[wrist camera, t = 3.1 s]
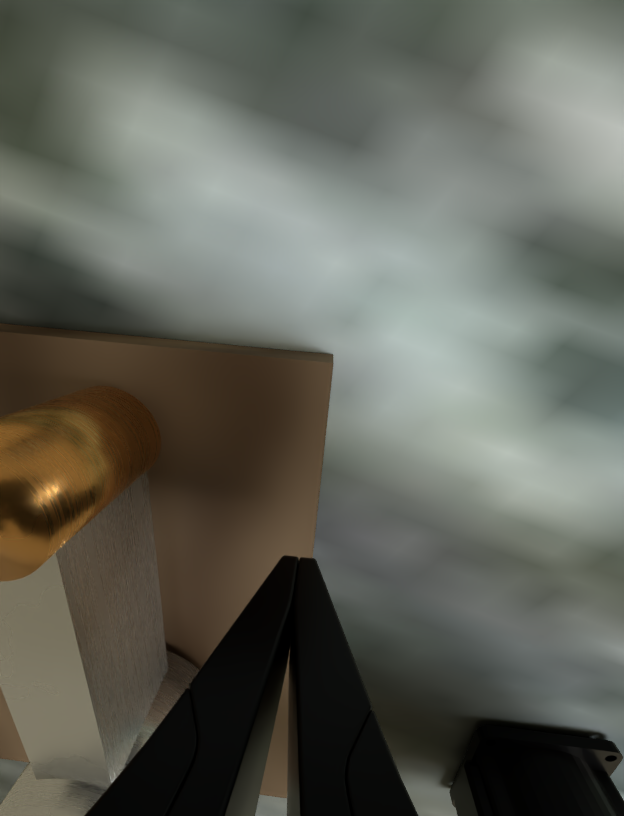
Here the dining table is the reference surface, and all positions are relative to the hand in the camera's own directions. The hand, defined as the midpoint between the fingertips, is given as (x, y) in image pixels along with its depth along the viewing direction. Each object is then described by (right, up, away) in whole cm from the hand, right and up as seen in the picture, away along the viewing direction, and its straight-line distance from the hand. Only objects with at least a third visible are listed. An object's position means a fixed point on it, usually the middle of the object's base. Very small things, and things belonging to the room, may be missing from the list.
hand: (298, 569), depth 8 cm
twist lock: (-6, -3, +3) cm, 7 cm away
